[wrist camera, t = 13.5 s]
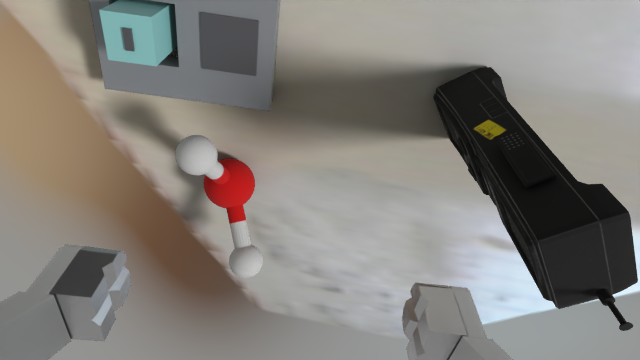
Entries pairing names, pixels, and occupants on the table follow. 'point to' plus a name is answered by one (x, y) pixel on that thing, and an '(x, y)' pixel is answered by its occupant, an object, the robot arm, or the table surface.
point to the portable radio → (540, 197)
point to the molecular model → (224, 195)
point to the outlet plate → (206, 54)
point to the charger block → (139, 31)
